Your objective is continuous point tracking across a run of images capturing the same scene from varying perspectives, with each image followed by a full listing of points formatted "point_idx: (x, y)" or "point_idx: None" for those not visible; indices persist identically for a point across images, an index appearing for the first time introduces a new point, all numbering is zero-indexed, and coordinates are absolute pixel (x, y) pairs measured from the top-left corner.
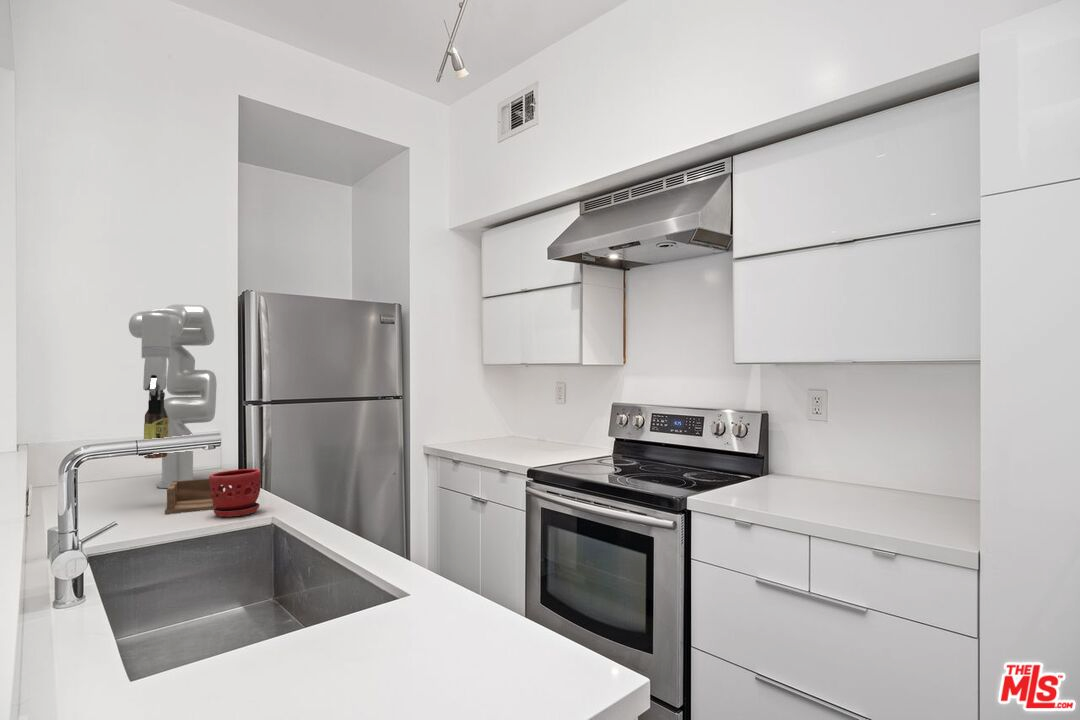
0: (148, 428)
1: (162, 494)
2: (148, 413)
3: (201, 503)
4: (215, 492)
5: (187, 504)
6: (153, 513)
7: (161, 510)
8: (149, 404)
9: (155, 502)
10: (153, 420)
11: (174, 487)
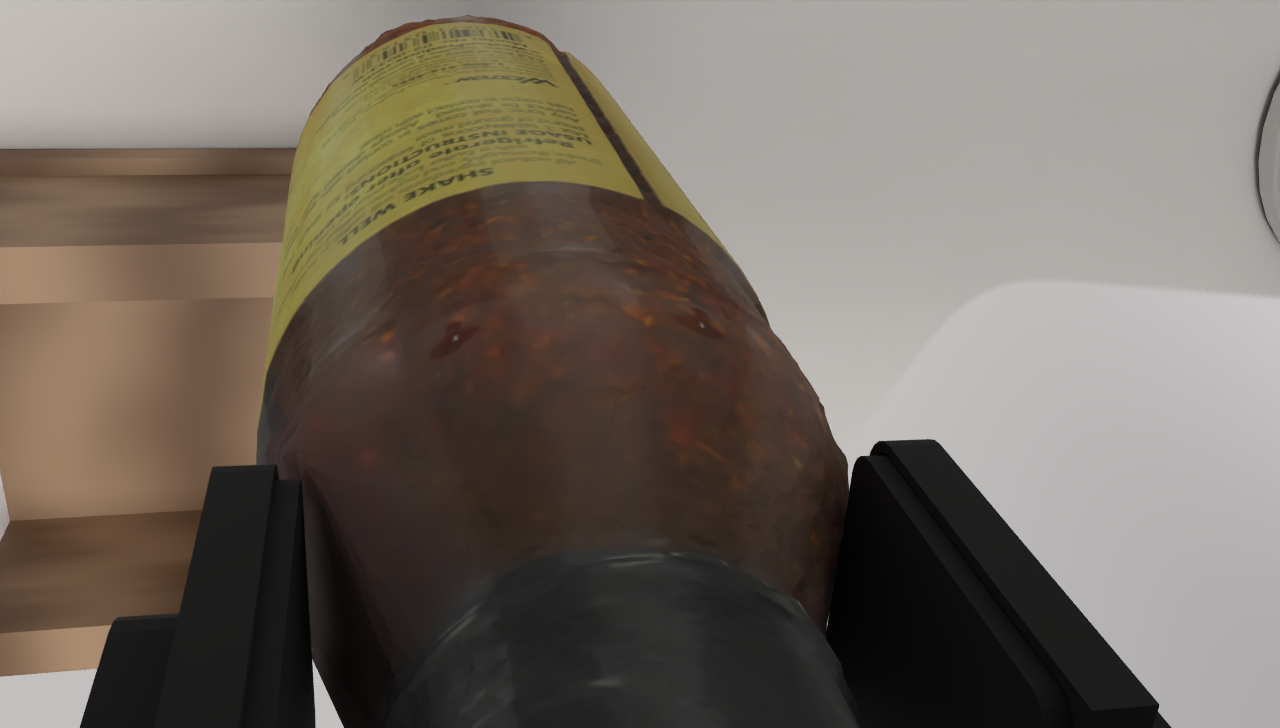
0: (298, 262)
1: (1025, 26)
2: (375, 430)
3: (179, 424)
4: None
5: (184, 319)
6: (49, 42)
7: (174, 99)
8: (164, 695)
9: (632, 3)
10: (258, 460)
11: (42, 300)
